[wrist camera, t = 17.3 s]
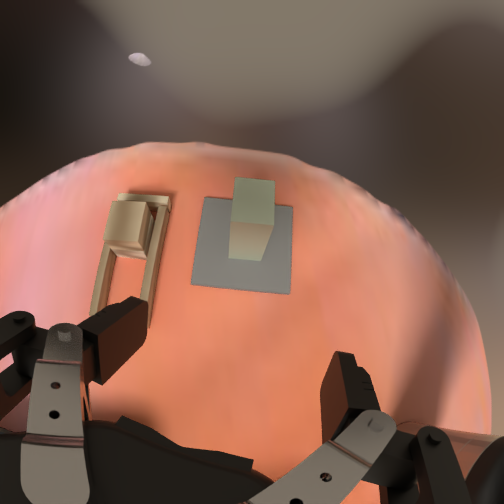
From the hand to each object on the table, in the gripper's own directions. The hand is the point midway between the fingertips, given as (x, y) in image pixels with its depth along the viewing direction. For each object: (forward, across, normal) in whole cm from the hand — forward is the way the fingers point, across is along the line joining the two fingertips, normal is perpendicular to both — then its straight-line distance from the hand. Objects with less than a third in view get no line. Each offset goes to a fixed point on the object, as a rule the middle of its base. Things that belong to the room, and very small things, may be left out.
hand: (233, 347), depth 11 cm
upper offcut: (+20, +17, +2) cm, 27 cm away
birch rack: (+21, +17, +6) cm, 28 cm away
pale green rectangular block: (+26, +4, +1) cm, 26 cm away
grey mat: (+26, +4, +1) cm, 26 cm away
